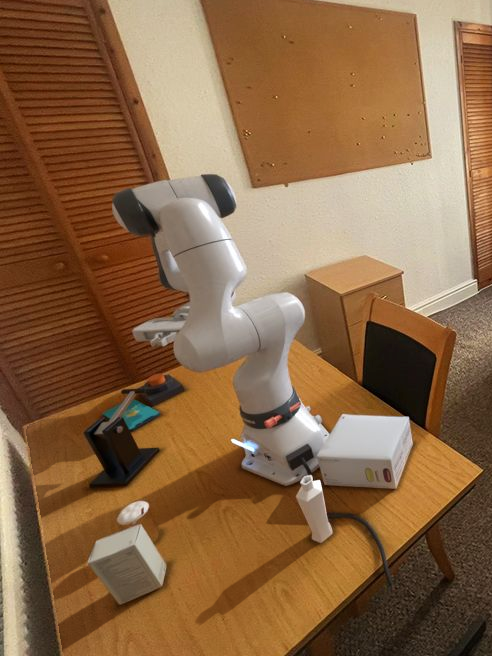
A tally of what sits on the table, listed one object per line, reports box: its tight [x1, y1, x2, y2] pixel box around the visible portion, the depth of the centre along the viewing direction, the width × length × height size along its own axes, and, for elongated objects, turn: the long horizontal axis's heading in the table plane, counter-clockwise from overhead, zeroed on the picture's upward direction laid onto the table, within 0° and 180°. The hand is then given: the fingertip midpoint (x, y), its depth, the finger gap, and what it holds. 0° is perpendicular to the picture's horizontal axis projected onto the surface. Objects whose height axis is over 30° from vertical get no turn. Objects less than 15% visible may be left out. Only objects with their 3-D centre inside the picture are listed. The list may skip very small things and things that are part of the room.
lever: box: [94, 388, 148, 439], centre depth 95 cm, size 12×6×2 cm, turn 3°
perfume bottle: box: [295, 475, 334, 544], centre depth 78 cm, size 5×4×15 cm
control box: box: [136, 373, 186, 407], centre depth 120 cm, size 10×8×4 cm
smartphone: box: [102, 398, 161, 432], centre depth 112 cm, size 7×1×15 cm
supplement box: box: [317, 413, 414, 490], centre depth 94 cm, size 17×13×9 cm
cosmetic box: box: [87, 524, 168, 606], centre depth 70 cm, size 6×4×12 cm
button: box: [147, 372, 166, 386], centre depth 119 cm, size 4×4×2 cm
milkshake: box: [116, 500, 160, 544], centre depth 78 cm, size 4×5×10 cm
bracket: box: [82, 417, 161, 489], centre depth 93 cm, size 10×8×14 cm
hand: (156, 344), depth 105 cm, fingers closed
